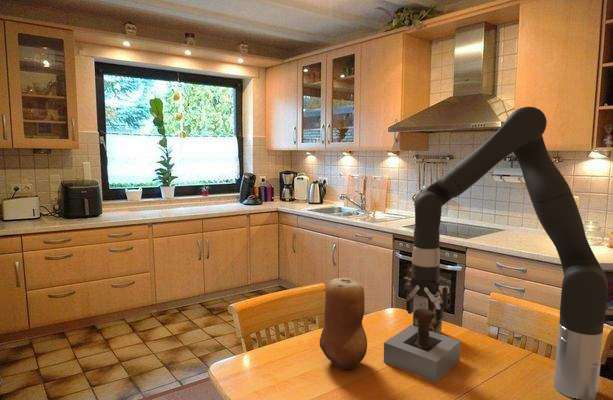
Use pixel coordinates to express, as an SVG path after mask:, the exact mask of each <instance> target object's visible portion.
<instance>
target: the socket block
mask: <svg viewBox="0 0 613 400" xmlns="http://www.w3.org/2000/svg"><path fill="white" fill-rule="evenodd" d="M416 341H418V327H416V326H413V324H409V325H408V326H407V327H405V328H403V329H402V330H401V331H399V332H398V333H396V334H395V335H393V336H392V337H390V338H389V339H387V340H386V341H384V343H383V363H385V364H388V365H391V366H393V367H396V368H397V369H400V370H402V371H405V372H408V373H410V374H413V375H414V376H417V377H420V378H423V379H424V380H427V381H429V382H432V383H435V384H437V383H438V382H439V381H440V379H442V378H443V377H444V376H445V375H446V374H447V373H448V372H449V371H450V370H451V369H452V368H453V367H454V366H455V365H456V364H457V363H459V362H460V359H461V358H460V354H461V340H459V339H456V338H453V337H450V336H447V335H444V334H441V333H435V332H432V331H429V343H430V344H431V345H432V349H431V350H430V351H429V352H427V351H425V350H422V349H419V348H416V347H414V344H415V342H416Z"/></svg>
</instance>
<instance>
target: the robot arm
mask: <svg viewBox="0 0 613 400" xmlns="http://www.w3.org/2000/svg"><path fill="white" fill-rule="evenodd" d="M547 124H548V122H547V117H546V114H545V113H544V111H542V110H541V109H539V108H537V107H536V106H535V107H534V106H524V107H520V108H518V109H517V108H516V109H515V110H514V111H513V112H511V114H509V115H508V117H507V119H506V120H505V121H504V123H503V124H502V125H501V126H500V127H499V128H498V129H497V131H496V132H494V133H493V135H492V136H491V137H489V138H488V139H487V140H486V141H485V142H484V143H482V145H480V146H479V147H477V148H476V149H475V150H474V151H472V152H471V153H469V154H468V155H467V156H465V157H464V158H462V159H461V160H460V161H459V162H457V163H456V164H454V165H453V166H452V167H451V168H450V169H449V170H448V171H446V172H445V173H444V174H443V175H442V176H441V177H440V178H438V179H437V180H436V181H435V182H433V183H431V184H430V185H429V186H426V187H425V188H424V189H423V190H422V191H420V192H419V193H418V194H417V195H416V196H415V197H414V198H415V199H414V203H413V204H414V205H413V206H414V226H415V227H414V231H413V242H412V243H413V246H412V252H411V253H412V255H411V278H410V277H409V276H408V275H407V276H405V277H402V278H401V279H400V291H399V292H400V293H399V296H400V298H401V299H404V300H405V303H406V306H405V309H406V310H405V311H407V314H409V315H411V314H413V307H414V297H415V296H416V295H418V296H420V297H425V298H430V300H431V301H432V302H433V303H434V304H435V306H436V308H437V309H436V321H437V322H439V321H440V320H441V319H442V320H443V318H444V310H445V309H448V308H449V307H450V306H451V304H452V303H451V286H450V285H440V283H439V282H440V262H441V260H440V259H441V257H440V256H441V255H440V254H441V252H440V251H441V250H440V240H441V239H440V236H441V235H440V227H441V226H440V225H441V219H442V210H443V209H442V207H444V205H446V204H447V203H448V202H449V201H450V200H452V199H453V198H457V197H459V196H460V195H462V194H464V193H465V192H466V191H467V190H468V189H469V188H471V187H472V186H474V185H475V184H477V182H478V181H480V180H481V179H482V178H483V177H484V176H485V175H486V174H487V173H488V172H489V171H491V170H492V169H493V168H494V167H495V166H497V165H498V164H499V163H500V162H501V161H502V160H504V159H506V157H508V156H509V155H511V154H513V155H514V156H515V159H516V160H517V163H518V164H519V167H520V169H521V173H522V177H523V180H524V184H525V186H526V189H527V192H528V196H529V199H530V201H531V202H530V203H532V207H533V209H534V212H535V215H536V217H537V219H538V221H539V223H540V224H541V227H542V228H543V230H544V231H545V233H546V234H547V236H548V238H549V239H550V240H551V242H552V243H553V245H554V246H555V247H554V248H555V250H556V251H557V254H558V255H557V256H558V258H559V260H560V265H561V268H562V272H563V279H562V283H561V291H560V304H559V305H560V307H559V321H558V322H559V323H558V334H557V335H558V336H557V345H556V355H555V366H554V376H553V387H554V388H555V389H556V390H557V392H559V393H560V394H561V395H564V396H565V397H568V398H570V397H571V399H573V398H576V399H575V400H577V399H581V400H596V398H597V395H598V391H599V382H600V373H601V363H602V358H601V353H602V344H603V343H602V342H603V335H604V328H605V327H604V326H605V321H606V320H605V319H606V311H607V305H608V303H607V302H608V292H609V285H608V277H607V275H606V273H605V271H604V270H603V268H602V266H601V265H600V263H599V261H598V259H597V258H596V257H597V256H595V254H594V252H593V250H592V248H591V246H590V244H589V241H588V238H587V236H586V231H585V227H584V224H583V220H582V216H581V213H580V210H579V208H578V207H579V206H578V205H577V201H576V200H575V197H574V195H573V192H572V190H571V187H570V185H569V184H568V182H567V180H566V179H565V177H564V176H563V174H562V173H561V171H560V170H559V169H558V167H557V166H556V165H555V163H554V162H553V161H552V158H551V157H550V155H549V152H548V149H547V146H546V143H545V140H544V136H543V134H544V133H545V131H546V129H547ZM410 285H411V288H412V290H411V291H410V292H409V286H410ZM438 290H440V291H441V294H442V296H443V302H442V300H441V297H440V295H439V294H438V292H437V291H438ZM434 296H435V297H434Z"/></svg>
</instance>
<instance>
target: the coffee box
mask: <svg viewBox="0 0 613 400" xmlns="http://www.w3.org/2000/svg"><path fill="white" fill-rule="evenodd" d="M437 292H438V294H439V295H440V297H441V300H442V302H443V296H442V294H441V291H440V290H438V291H437ZM434 297H435V296H434ZM413 300H414V306H413V313H412V325H413V326H416V327H418V319H417V318H415V317H414V312H415V310H417V309H427V310H431V311H432V312H433V313H434V318H433V319H432V320H431V321H430V324H429V331H432V332H435V333H438V334H441V332H442V327H443V326H442V325H443V324H442V323H443V318H442V319H441V320H440V321H439V322H437V321H436V309H437V308H436V306H435V304H434V303H433V302H432V301H431V300H430V298H425V297H420V296H418V295H416V296H415V297H414V298H413Z"/></svg>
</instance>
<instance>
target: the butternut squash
mask: <svg viewBox="0 0 613 400" xmlns="http://www.w3.org/2000/svg"><path fill="white" fill-rule="evenodd" d="M364 289H365V288H364V287H363V286H362V284H361V283H360V282H358V281H357V280H355V279H353V278H350V277H340V278H339V277H338V278H334V279H331V280H330V281H329V282H328V283H327V285H326V288H325V296H324V297H325V299H324V300H325V301H324V314H323V315H324V320H323V322H324V323H323V328H322V330H321V334H320V338H319V347H320V349H321V351H322V352H323V355H325V357H326V359H328V361H330V362H331V363H332V364H333V365H335V366H336V367H337V368H339V369H342V370H350V369H354V368H356V367H357V366H359V364H361V363H362V361H363V360H364V358H365V356H366V355H367V351H368V338H367V334H366V331H365V329H364V326H363V319H364V316H365V306H366V305H365V302H366V299H365V290H364Z"/></svg>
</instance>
